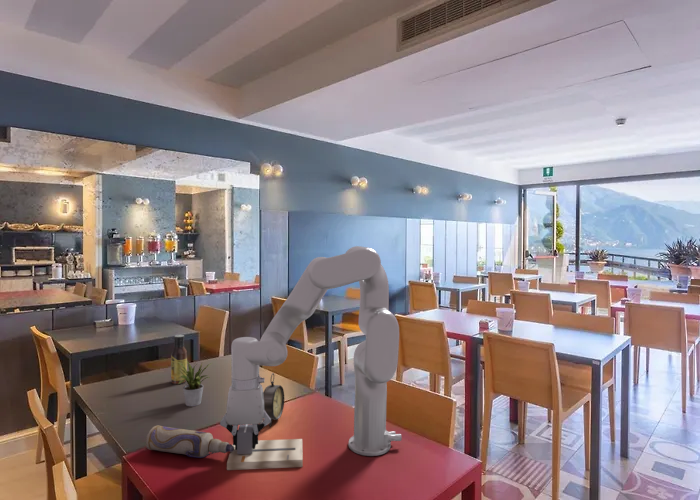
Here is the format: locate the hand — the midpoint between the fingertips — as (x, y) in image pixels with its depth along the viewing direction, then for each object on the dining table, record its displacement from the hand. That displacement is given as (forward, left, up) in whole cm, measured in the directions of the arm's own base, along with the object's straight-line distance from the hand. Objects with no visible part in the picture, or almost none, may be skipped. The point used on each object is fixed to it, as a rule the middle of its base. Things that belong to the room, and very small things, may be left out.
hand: (245, 446), depth 122 cm
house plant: (+25, -41, -3) cm, 48 cm away
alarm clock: (-6, -24, -3) cm, 25 cm away
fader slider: (0, 0, -1) cm, 1 cm away
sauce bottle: (+35, -65, -3) cm, 74 cm away
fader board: (-6, 0, -3) cm, 7 cm away
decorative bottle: (+16, -3, -3) cm, 17 cm away
